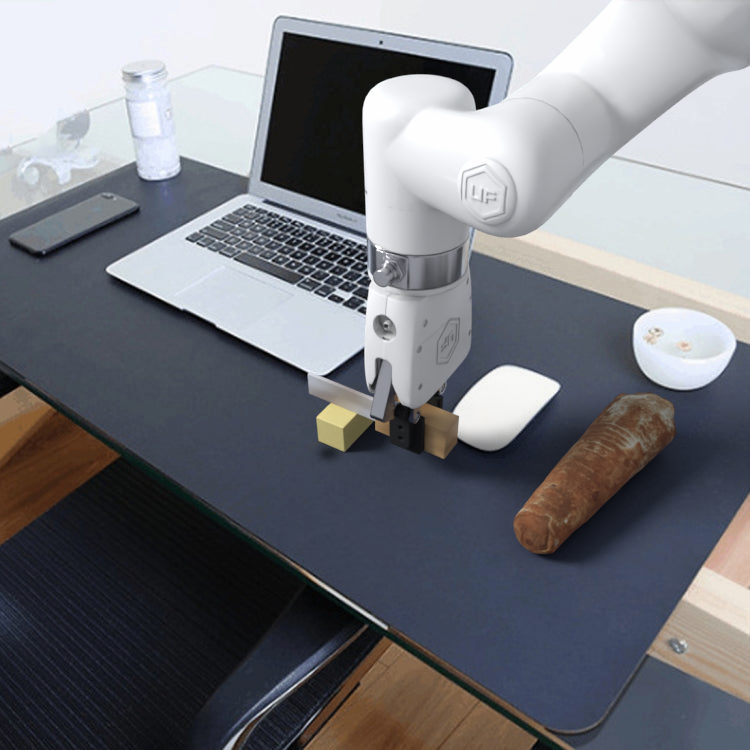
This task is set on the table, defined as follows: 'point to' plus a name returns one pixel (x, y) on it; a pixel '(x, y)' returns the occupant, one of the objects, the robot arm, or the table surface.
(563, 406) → the table surface
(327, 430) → the butter
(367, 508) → the table surface
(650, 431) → the bread
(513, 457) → the table surface
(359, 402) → the knife
